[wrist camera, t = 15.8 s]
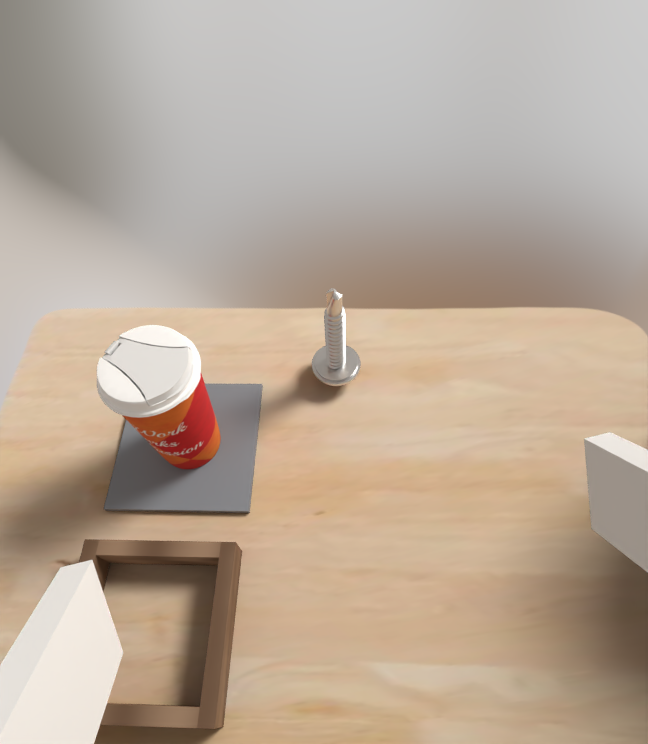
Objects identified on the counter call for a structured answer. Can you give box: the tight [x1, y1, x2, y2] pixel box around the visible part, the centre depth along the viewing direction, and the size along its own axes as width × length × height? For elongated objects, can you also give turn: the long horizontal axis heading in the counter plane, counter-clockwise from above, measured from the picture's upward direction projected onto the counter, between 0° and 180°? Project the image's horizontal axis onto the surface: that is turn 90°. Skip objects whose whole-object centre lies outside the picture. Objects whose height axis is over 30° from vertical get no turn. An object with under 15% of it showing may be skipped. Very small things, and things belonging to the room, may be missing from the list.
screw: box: [312, 289, 361, 386], centre depth 48 cm, size 13×5×5 cm
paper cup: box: [97, 325, 221, 469], centre depth 44 cm, size 8×8×14 cm
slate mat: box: [104, 384, 263, 513], centre depth 50 cm, size 13×13×1 cm
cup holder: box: [79, 539, 242, 729], centre depth 40 cm, size 12×12×3 cm
